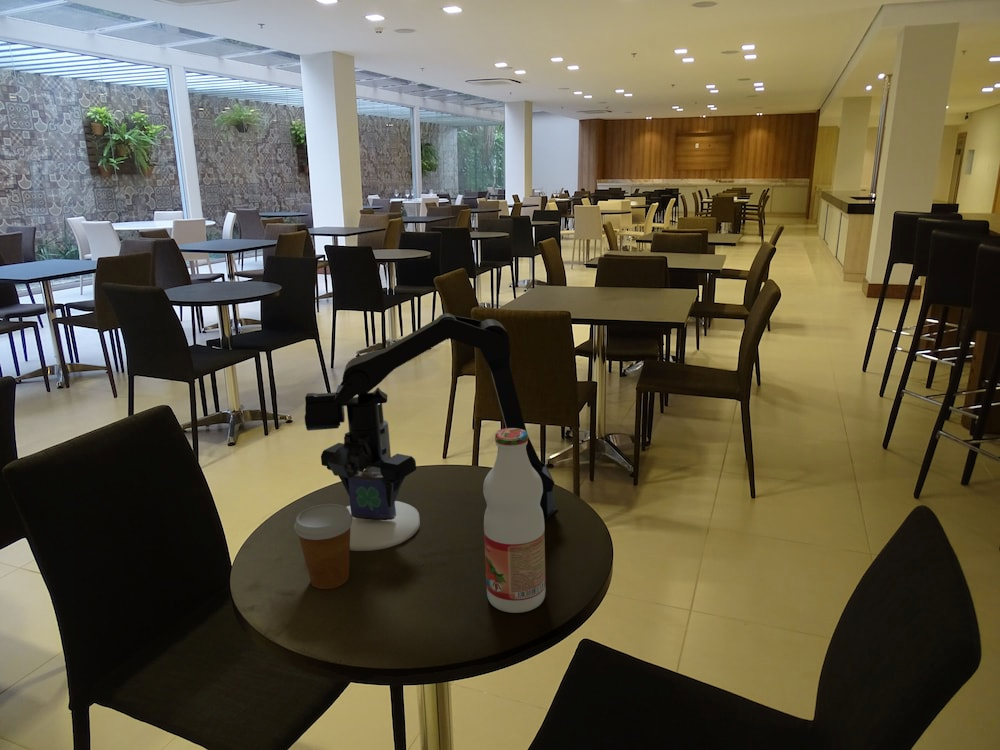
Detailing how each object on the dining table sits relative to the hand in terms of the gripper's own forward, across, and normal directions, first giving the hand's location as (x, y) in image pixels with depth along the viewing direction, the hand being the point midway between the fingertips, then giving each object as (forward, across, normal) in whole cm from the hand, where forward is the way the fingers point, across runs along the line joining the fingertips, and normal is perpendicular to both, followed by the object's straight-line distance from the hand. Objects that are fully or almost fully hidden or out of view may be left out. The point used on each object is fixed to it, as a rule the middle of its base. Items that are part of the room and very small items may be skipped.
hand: (371, 502), depth 137 cm
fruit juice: (+6, +36, -9) cm, 37 cm away
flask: (+3, 0, 0) cm, 3 cm away
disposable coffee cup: (+6, +5, -18) cm, 20 cm away
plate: (+5, 0, 0) cm, 5 cm away
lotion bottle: (+6, -10, +15) cm, 19 cm away
